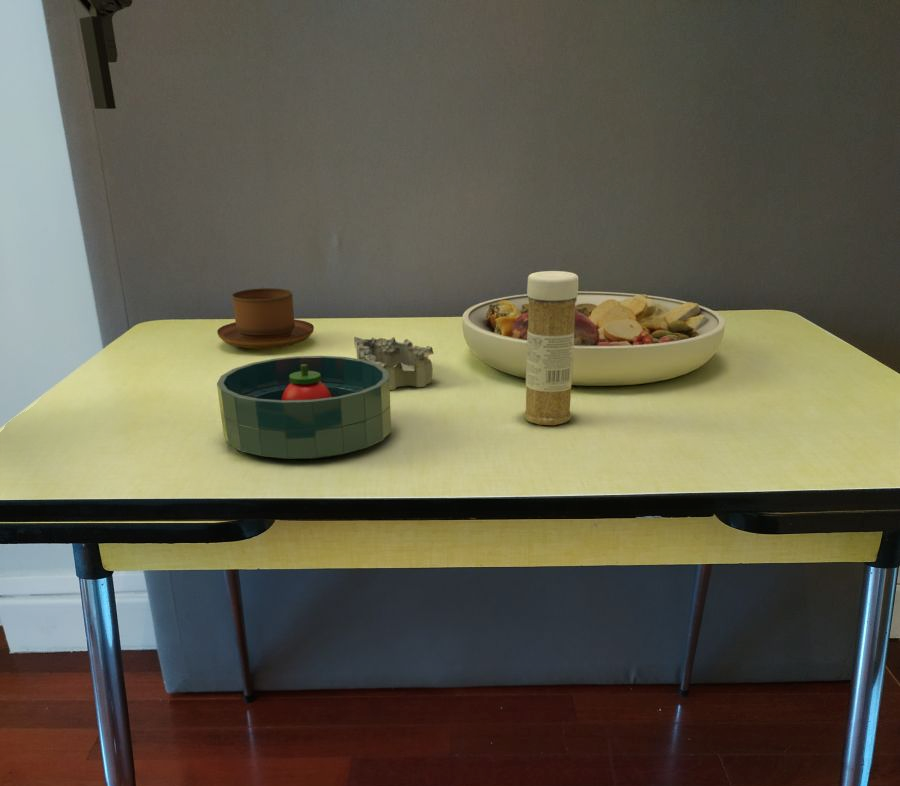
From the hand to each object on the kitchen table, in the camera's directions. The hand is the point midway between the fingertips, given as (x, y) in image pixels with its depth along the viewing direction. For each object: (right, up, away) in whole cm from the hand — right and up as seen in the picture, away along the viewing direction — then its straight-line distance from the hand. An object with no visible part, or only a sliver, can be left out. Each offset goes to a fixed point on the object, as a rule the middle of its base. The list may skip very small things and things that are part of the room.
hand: (22, 110), depth 73 cm
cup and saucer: (+11, -7, +43) cm, 45 cm away
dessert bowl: (+21, -24, +11) cm, 34 cm away
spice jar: (+44, -22, +15) cm, 51 cm away
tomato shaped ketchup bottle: (+21, -24, +11) cm, 34 cm away
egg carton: (+28, -15, +29) cm, 43 cm away
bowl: (+51, -11, +35) cm, 63 cm away
